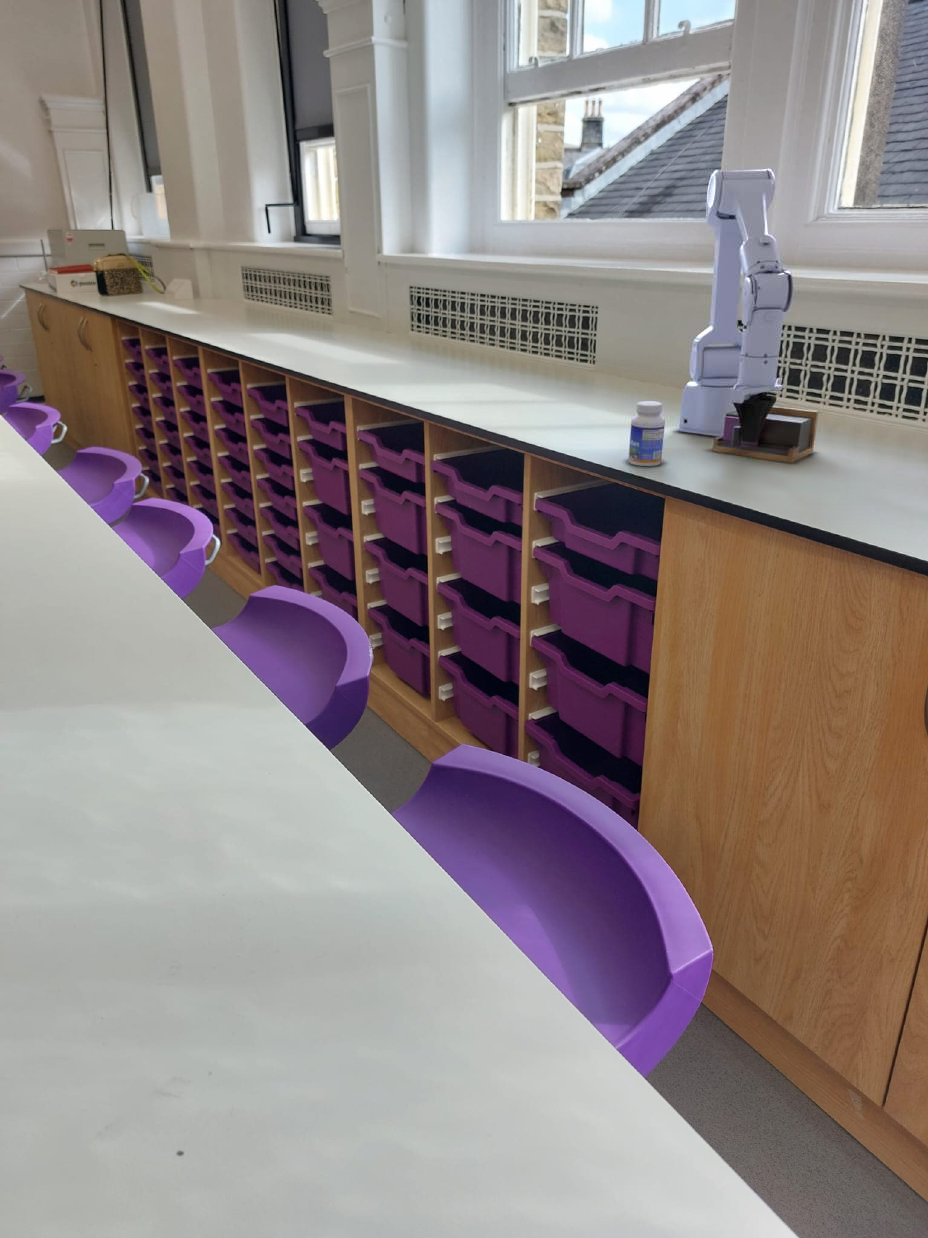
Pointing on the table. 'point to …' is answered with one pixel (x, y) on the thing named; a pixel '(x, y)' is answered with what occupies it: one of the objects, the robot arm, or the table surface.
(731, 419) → the sliding door
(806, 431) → the sliding door box
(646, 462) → the pill bottle
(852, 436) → the table surface
